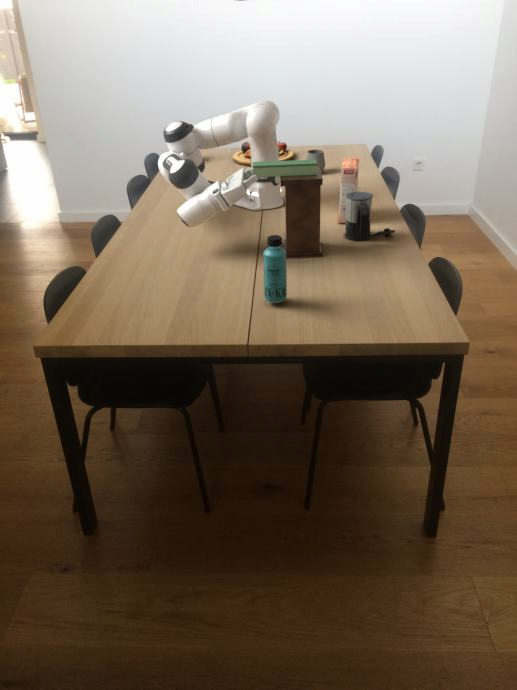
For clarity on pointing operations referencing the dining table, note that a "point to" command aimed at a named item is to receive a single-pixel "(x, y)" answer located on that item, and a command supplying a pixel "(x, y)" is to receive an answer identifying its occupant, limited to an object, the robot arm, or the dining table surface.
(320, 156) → the cup
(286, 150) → the wooden plate
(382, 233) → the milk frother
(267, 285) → the beverage bottle
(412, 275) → the dining table surface
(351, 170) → the cracker box
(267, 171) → the green rectangular bar
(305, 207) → the walnut stand
